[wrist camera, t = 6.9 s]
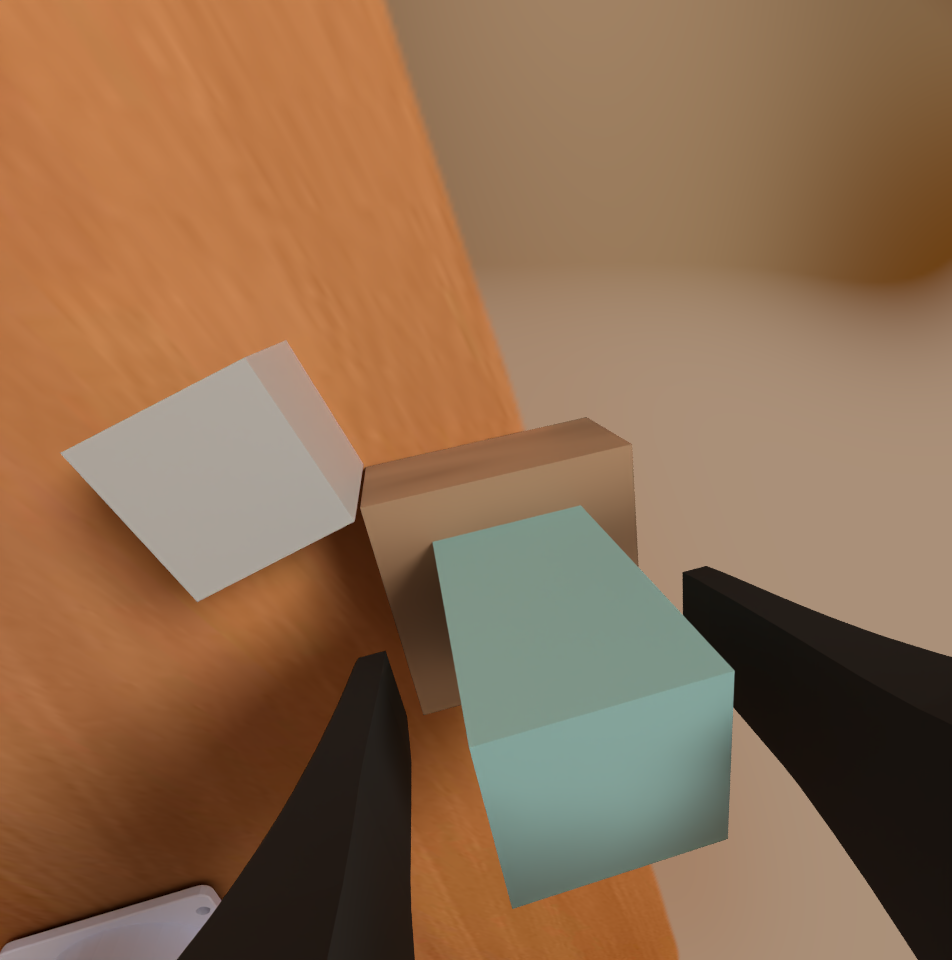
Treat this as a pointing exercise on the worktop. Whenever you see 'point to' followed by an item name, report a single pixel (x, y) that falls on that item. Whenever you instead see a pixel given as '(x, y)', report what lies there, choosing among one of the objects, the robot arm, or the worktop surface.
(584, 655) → the teal block
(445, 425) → the worktop surface
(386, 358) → the worktop surface
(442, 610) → the brown wooden square block
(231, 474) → the grey block
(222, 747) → the worktop surface
